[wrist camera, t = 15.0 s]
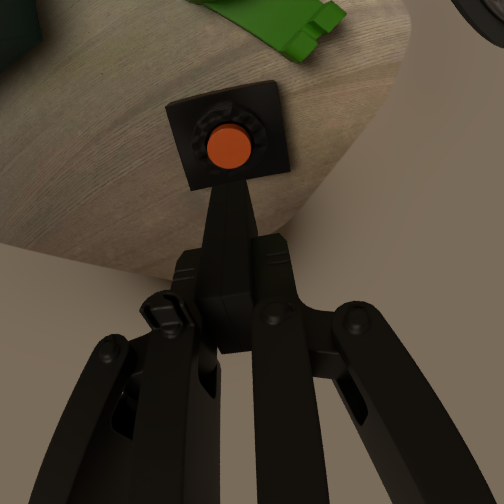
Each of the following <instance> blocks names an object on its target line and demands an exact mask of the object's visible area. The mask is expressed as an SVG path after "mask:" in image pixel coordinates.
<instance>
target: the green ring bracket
mask: <svg viewBox="0 0 504 504" xmlns="http://www.w3.org/2000/svg"><path fill="white" fill-rule="evenodd" d="M186 1H188V2H191V3H194V4H198V5H203V6H205V7H207V8H208V9H210V10H212V11H214V12H216V13H218V14H219V15H221V16H223V17H225V18H226V19H228V20H230V21H231V22H233V23H235V24H236V25H238V26H240V27H241V28H243V29H244V30H246V31H248V32H249V33H251V34H252V35H254V36H255V37H257V38H258V39H260V40H261V41H263V42H264V43H266V44H267V45H269V46H270V47H272V48H273V49H274V50H276V51H277V52H279V53H280V54H281V55H283V56H284V57H285V58H287V59H288V60H289V61H291V62H297V63H299V62H301V61H302V60H303V59H305V58H306V57H307V56H308V55H309V54H310V53H311V51H312V50H313V49H314V48H315V47H316V46H317V45H318V43H317V42H316V41H315V40H316V39H317V38H318V37H319V36H321V35H322V34H326V33H329V32H330V31H331V30H332V29H333V28H334V27H335V26H336V25H337V24H338V23H339V22H340V21H341V20H342V19H343V18H344V17H345V16H346V14H347V13H346V12H345V11H344V10H343V9H341V8H340V7H339V6H338V5H337V4H335V3H334V2H333V1H332V0H331V1H329V2H327V3H325V4H323V3H322V2H320V1H319V0H186Z"/></svg>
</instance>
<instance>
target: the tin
mask: <svg viewBox="0 0 504 504" xmlns="http://www.w3.org/2000/svg"><path fill="white" fill-rule="evenodd" d="M41 41H42V37H41V32H40V27H39V22H38V17H37V12H36V6H35V0H0V72H1V71H2V70H4V69H5V68H6V67H7V66H8V65H10V64H11V63H12V62H14V61H15V60H16V59H17V58H19V57H20V56H21V55H23V54H24V53H25V52H27V51H28V50H30V49H31V48H32V47H34V46H35V45H37V44H38V43H40V42H41Z"/></svg>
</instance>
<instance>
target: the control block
mask: <svg viewBox="0 0 504 504" xmlns="http://www.w3.org/2000/svg"><path fill="white" fill-rule="evenodd" d="M165 109H166V112H167V116H168V119H169V123H170V126H171V129H172V133H173V136H174V139H175V142H176V146H177V149H178V152H179V155H180V158H181V162H182V165H183V168H184V171H185V174H186V177H187V180H188V184H189V187H190V190H191V191H194V190H198V189H203V188H207V187H212V186H216V185H221V184H226V183H231V182H236V181H241V180H247V179H252V178H257V177H263V176H268V175H274V174H280V173H286V172H290V164H289V157H288V150H287V144H286V137H285V131H284V125H283V119H282V113H281V107H280V101H279V95H278V90H277V84H276V82H275V81H274V80H269V81H262V82H256V83H251V84H245V85H240V86H235V87H230V88H225V89H221V90H216V91H212V92H208V93H204V94H200V95H196V96H192V97H188V98H184V99H181V100H177V101H174V102H170V103H169V104H168V105H167V106H165ZM223 124H236V125H239V126H241V127H242V128H244V129H245V130H246V131H247V133H248V135H249V137H250V142H251V153H250V156H249V158H248V160H247V161H246V162H245V163H244V164H242V165H241V166H239V167H237V168H232V169H226V168H222V167H219V166H217V165H216V164H214V163H213V162H212V161H211V159H210V158H209V156H208V152H207V145H208V141H209V138H210V135H211V133H212V132H213V131H214V130H215V129H216V128H217V127H219V126H221V125H223Z"/></svg>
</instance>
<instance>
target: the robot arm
mask: <svg viewBox="0 0 504 504" xmlns="http://www.w3.org/2000/svg"><path fill="white" fill-rule="evenodd" d="M480 2H481V3H482V4H483V6H484V7H485V8H486V9H487V10H488V11H489V12H490V13H491V14H492V15H493V16H494V17H495V18H496V19H498V20H499V21H501V22H502V23H504V0H480ZM139 311H140V313H141V314H142V316H143V317H144V319H145V320H146V322H147V323H148V325H149V326H150V327H151V329H152V331H151V332H149V333H147V334H146V335H143V336H141V337H138V338H135V339H133V340H130V341H128V340H127V339H126V338H125V337H124V336H122V335H120V334H111V335H109V336H106V337H104V338H103V339H102V340H101V341H99V343H98V344H97V345H96V347H95V348H94V350H93V352H92V354H91V356H90V358H89V360H88V362H87V364H86V365H85V367H84V369H83V371H82V373H81V375H80V378H79V379H78V382H77V384H76V386H75V388H74V390H73V392H72V394H71V396H70V398H69V401H68V403H67V405H66V407H65V409H64V411H63V414H62V416H61V418H60V420H59V423H58V425H57V427H56V430H55V432H54V434H53V437H52V439H51V442H50V444H49V447H48V449H47V452H46V454H45V457H44V459H43V462H42V465H41V467H40V470H39V473H38V476H37V479H36V482H35V484H34V487H33V490H32V493H31V497H30V500H29V503H28V504H220V396H221V368H220V363H219V361H218V360H217V347H218V348H219V350H220V352H221V354H229V353H238V352H247V351H252V373H253V401H254V428H255V453H256V478H257V503H258V504H330V502H329V493H328V484H327V476H326V467H325V460H324V451H323V444H322V436H321V429H320V422H319V415H318V409H317V402H316V395H315V389H314V382H313V377H320V378H327V379H332V381H333V383H334V385H335V387H336V389H337V391H338V393H339V395H340V397H341V399H342V401H343V403H344V405H345V407H346V409H347V411H348V413H349V415H350V417H351V419H352V421H353V423H354V425H355V427H356V429H357V431H358V433H359V435H360V437H361V439H362V441H363V443H364V445H365V448H366V450H367V452H368V454H369V456H370V458H371V460H372V462H373V464H374V466H375V468H376V470H377V472H378V474H379V476H380V478H381V480H382V483H383V485H384V487H385V489H386V491H387V493H388V495H389V497H390V499H391V501H392V503H393V504H497V503H496V501H495V499H494V497H493V495H492V493H491V490H490V488H489V486H488V484H487V483H486V480H485V479H484V477H483V475H482V473H481V471H480V469H479V467H478V465H477V463H476V461H475V460H474V458H473V456H472V454H471V452H470V451H469V449H468V447H467V445H466V443H465V442H464V440H463V438H462V436H461V435H460V433H459V431H458V429H457V428H456V426H455V424H454V423H453V421H452V419H451V418H450V416H449V414H448V413H447V411H446V410H445V408H444V406H443V405H442V403H441V401H440V400H439V398H438V397H437V395H436V393H435V392H434V390H433V389H432V387H431V386H430V384H429V382H428V381H427V379H426V378H425V377H424V375H423V373H422V372H421V371H420V369H419V367H418V366H417V365H416V363H415V361H414V360H413V358H412V357H411V355H410V354H409V352H408V351H407V350H406V348H405V347H404V346H403V344H402V342H401V341H400V339H399V338H398V337H397V335H396V334H395V332H394V331H393V330H392V328H391V327H390V325H389V324H388V323H387V321H386V320H385V318H384V317H383V316H382V314H381V313H380V312H379V310H377V309H376V308H375V307H374V306H373V305H371V304H369V303H366V302H363V301H352V302H347V303H344V304H343V305H341V306H340V307H338V308H337V309H336V310H335V312H330V311H320V310H315V309H312V308H310V307H308V306H306V305H305V304H304V303H302V301H301V300H300V299H299V297H298V294H297V290H296V285H295V280H294V275H293V270H292V265H291V260H290V255H289V250H288V245H287V241H286V240H285V239H284V238H283V237H282V236H281V234H279V233H276V234H270V235H264V236H258V230H257V226H256V221H255V217H254V212H253V208H252V204H251V199H250V195H249V190H248V186H247V182H246V180H241V181H236V182H231V183H226V184H221V185H216V186H212V191H211V196H210V202H209V207H208V213H207V218H206V224H205V230H204V236H203V242H202V248H197V249H191V250H186V251H184V252H183V253H182V255H181V256H180V257H179V259H178V260H177V263H176V267H175V273H174V276H173V282H172V285H171V289H170V290H163V291H160V292H156V293H155V294H153V295H151V296H150V297H148V298H147V299H146V301H144V303H143V304H142V306H141V308H140V310H139ZM122 392H123V394H122Z"/></svg>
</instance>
